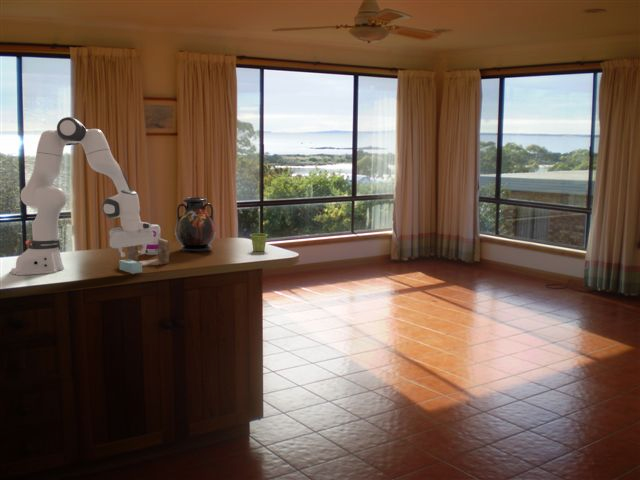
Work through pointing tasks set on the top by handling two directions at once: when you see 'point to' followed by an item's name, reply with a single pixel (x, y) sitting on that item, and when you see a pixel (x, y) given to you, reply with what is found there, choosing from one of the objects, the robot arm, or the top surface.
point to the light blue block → (130, 266)
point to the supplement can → (157, 235)
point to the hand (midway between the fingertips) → (132, 255)
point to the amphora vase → (195, 226)
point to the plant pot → (258, 241)
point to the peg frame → (162, 250)
